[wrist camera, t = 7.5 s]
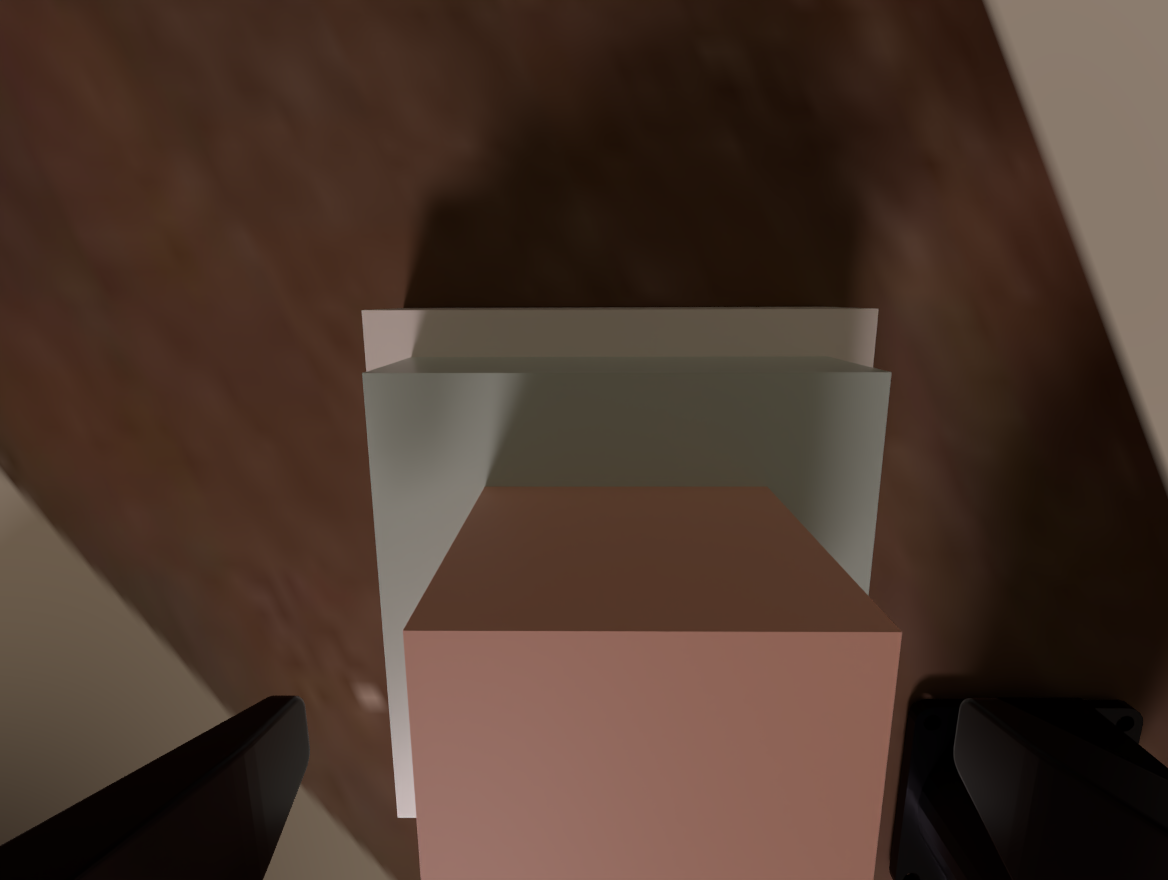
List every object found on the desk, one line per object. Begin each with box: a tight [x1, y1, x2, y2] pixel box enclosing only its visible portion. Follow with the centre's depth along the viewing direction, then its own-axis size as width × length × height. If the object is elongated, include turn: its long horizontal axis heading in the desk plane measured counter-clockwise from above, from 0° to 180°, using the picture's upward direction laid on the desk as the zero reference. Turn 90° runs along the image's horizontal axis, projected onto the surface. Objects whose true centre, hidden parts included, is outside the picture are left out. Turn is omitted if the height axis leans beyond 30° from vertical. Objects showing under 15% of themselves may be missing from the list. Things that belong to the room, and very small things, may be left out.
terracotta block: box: [403, 487, 902, 880], centre depth 9 cm, size 5×5×5 cm
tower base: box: [362, 307, 891, 818], centre depth 15 cm, size 11×11×6 cm
